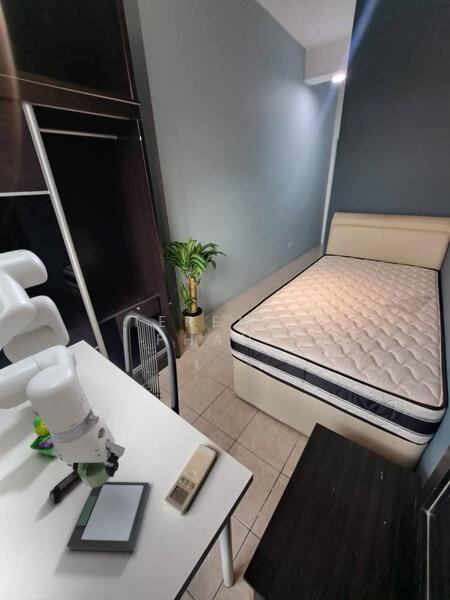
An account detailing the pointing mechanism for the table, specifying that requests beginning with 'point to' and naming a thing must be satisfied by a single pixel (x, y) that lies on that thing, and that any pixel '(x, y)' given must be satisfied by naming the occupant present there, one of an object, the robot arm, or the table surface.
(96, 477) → the bowl
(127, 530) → the scale
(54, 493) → the electric trimmer
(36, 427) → the fruit basket
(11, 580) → the table surface
